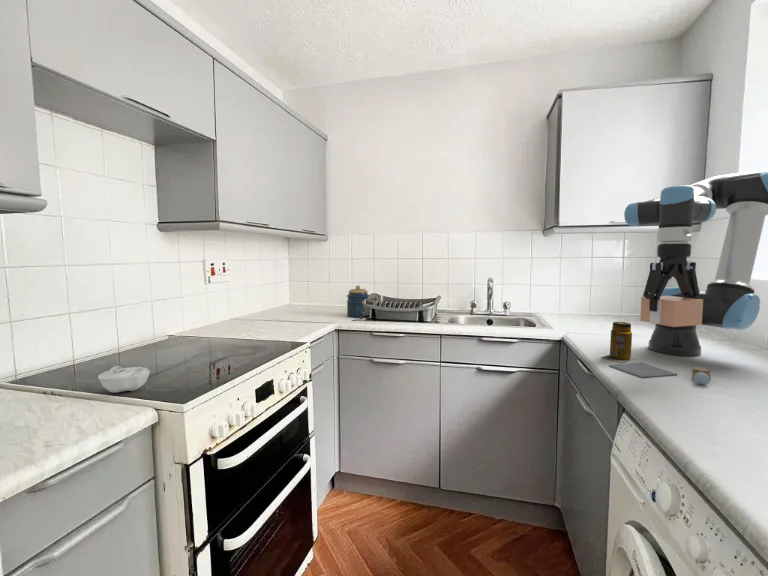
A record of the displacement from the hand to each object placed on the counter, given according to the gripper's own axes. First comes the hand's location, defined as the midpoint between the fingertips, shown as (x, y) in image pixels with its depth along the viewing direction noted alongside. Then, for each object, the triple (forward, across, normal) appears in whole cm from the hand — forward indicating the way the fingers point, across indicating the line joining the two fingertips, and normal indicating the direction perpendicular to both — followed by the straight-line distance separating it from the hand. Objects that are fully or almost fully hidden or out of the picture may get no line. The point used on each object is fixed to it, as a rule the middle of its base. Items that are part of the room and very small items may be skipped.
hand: (669, 321), depth 110 cm
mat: (+16, -3, +5) cm, 17 cm away
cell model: (+15, -147, +29) cm, 151 cm away
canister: (+16, -65, +132) cm, 148 cm away
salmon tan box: (0, 0, 0) cm, 0 cm away
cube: (+16, +5, -6) cm, 17 cm away
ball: (+14, +1, -9) cm, 16 cm away
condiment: (+16, +2, +18) cm, 24 cm away
